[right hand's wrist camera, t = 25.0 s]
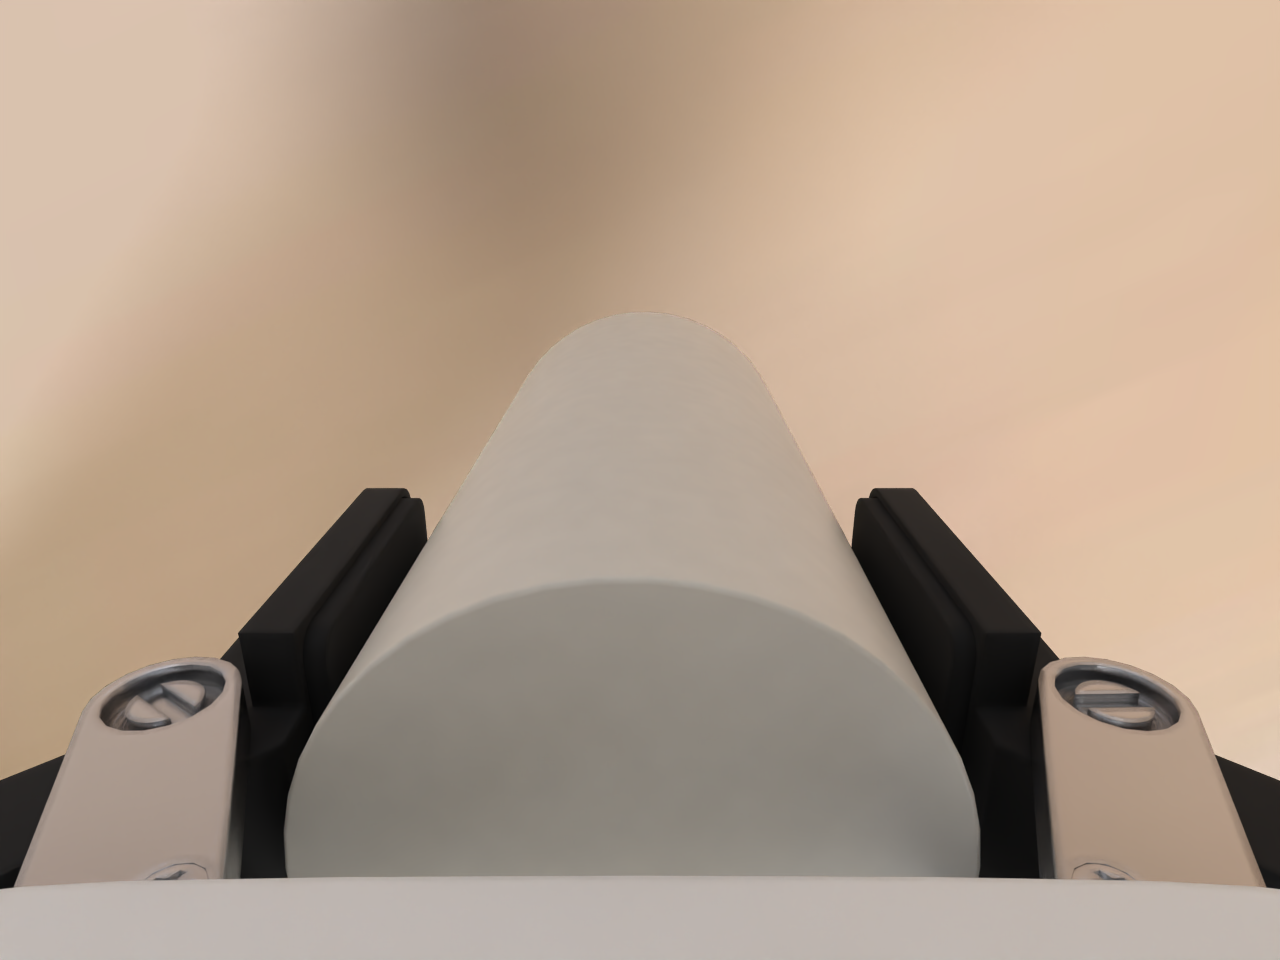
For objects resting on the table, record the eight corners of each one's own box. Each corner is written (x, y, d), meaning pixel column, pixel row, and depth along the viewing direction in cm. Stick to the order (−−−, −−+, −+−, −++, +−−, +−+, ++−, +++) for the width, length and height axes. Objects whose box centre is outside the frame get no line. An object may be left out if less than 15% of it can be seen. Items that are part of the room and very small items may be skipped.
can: (655, 250, 16) (657, 415, 5) (833, 456, 18) (1118, 911, 7) (454, 436, 18) (139, 862, 7) (634, 612, 19) (612, 1191, 8)
